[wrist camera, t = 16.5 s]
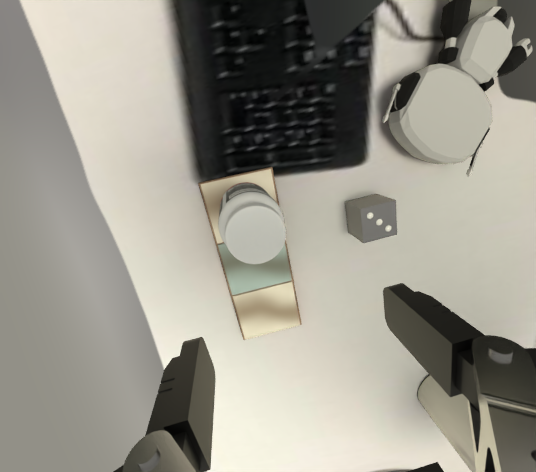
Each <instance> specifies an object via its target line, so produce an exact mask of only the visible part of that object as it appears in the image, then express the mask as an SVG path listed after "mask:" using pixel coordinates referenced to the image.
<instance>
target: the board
mask: <svg viewBox="0 0 536 472" xmlns="http://www.w3.org/2000/svg"><path fill="white" fill-rule="evenodd" d="M244 182H249V183H254V184H257V185H259V186H260V187H262V188H263V189H264V190H265V191H266V192H267V193H268V194H269V195H270V196H271V197H272V198H273V199H274V200H275V201H276V203H277V204H278V205H279V201H278V196H277V190H276V185H275V180H274V174H273V169H272V167H268V168H264V169H259V170H255V171H250V172H246V173H241V174H237V175H232V176H227V177H223V178H218V179H214V180H209V181H205V182H200V183H199V188H200V191H201V195H202V198H203V202H204V205H205V208H206V212H207V215H208V219H209V222H210V226H211V229H212V233H213V236H214V239H215V243H216V246H217V250H218V253H219V257H220V260H221V264H222V267H223V270H224V274H225V277H226V281H227V284H228V288H229V291H230V295H231V298H232V302H233V305H234V308H235V312H236V315H237V319H238V322H239V326H240V329H241V333H242V336H243V339H244V340H247V339H250V338H254V337H258V336H262V335H265V334H269V333H273V332H277V331H280V330H284V329H288V328H292V327H295V326H299V325H301V319H300V314H299V308H298V303H297V297H296V292H295V287H294V281H293V276H292V271H291V265H290V260H289V255H288V249H287V244H286V240H285V243H284V246H283V248H282V249H281V251H280V252H279V253H278V255H277V256H275V257H274V258H273V259H271V260H269V261H267V262H265V263H261V264H248V263H244V262H242V261H240V260H238V259H237V258H235V257H234V256H233V255H232V254H231V253H230V251H229V250H228V248H227V246H226V244H225V243H224V242H223V240H222V238H221V236H220V233H219V227H218V221H219V210H220V202H221V199H222V197H223V195H224V194H225V192H226V191H227V190H228V189H229V188H231V187H232V186H234V185H236V184H239V183H244ZM279 207H280V206H279Z"/></svg>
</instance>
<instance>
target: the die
mask: <svg viewBox="0 0 536 472" xmlns="http://www.w3.org/2000/svg"><path fill="white" fill-rule="evenodd" d="M345 207H346V216H347V225H348V232H349V233H350V234H351V235H353V236H354V237H356V238H357V239H358V240H360V241H361V242H363V243H366V242H370V241H374V240H378V239H381V238H385V237H389V236H393V235H397V221H396V200H394V199H391V198H387V197H384V196H381V195H378V194H374V195H370V196H366V197H362V198H358V199H354V200H350V201H346V202H345Z"/></svg>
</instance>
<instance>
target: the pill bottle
mask: <svg viewBox="0 0 536 472" xmlns="http://www.w3.org/2000/svg"><path fill="white" fill-rule="evenodd" d="M218 227H219V233H220V236H221V238H222V240H223V242H224V243H225V244H226V246H227V248H228V250H229V251H230V253H231V254H232V255H233V256H234V257H235V258H237V259H238V260H240V261H242V262H244V263H248V264H261V263H265V262H267V261H269V260H271V259H273V258H274V257H275V256H277V255H278V253H279V252H280V251H281V249H282V248H283V246H284V243H285V240H286V228H285V224H284V216H283V213H282V210H281V208H280V207H279V205H278V204H277V203H276V201H275V200H274V199H273V198H272V197H271V196H270V195H269V194H268V193H267V192H266V191H265V190H264V189H263V188H262V187H260V186H259V185H257V184H254V183H249V182H244V183H239V184H236V185H234V186H232V187H231V188H229V189H228V190H227V191H226V192H225V194H224V195H223V197H222V199H221V202H220V210H219V221H218Z"/></svg>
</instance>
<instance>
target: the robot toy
mask: <svg viewBox="0 0 536 472" xmlns="http://www.w3.org/2000/svg"><path fill="white" fill-rule="evenodd" d="M470 5H471V0H450V2H449V3H448V4H447V5H446V6H445V7H444V8H443V13H442V20H441V26H440V29H441V31H442V34H443V36H444V38H445V39H446V44H445V49H444V50H442V51H441V52H440V53H439V59H438V64H433V65H429V66H427V67H424V68H422V69H420V70H418V71H416V72H414V73H412V74H410V75H408V76H406V77H404V78H403V79H402V80H401V81H400V82H399V83H397V84H396V85H394V87H393V90H392V92H393V94H392V97H391V100H390V102H389V105H388V108H387V111H386V113H385V115H384V117H383V120H382V121H383V124H384V123H385V122H386V121H387V119H388V117H389V127H390V130H391V133H392V135H393V136H394V138H395V139H396V140H397V142H398V143H399V144H400V145H401V146H402V147H403V148H404V149H405V150H406V151H407V152H409V153H410V154H411V155H412V156H413V157H416V158H418V159H421V160H424V161H426V162H430V163H435V164H456V163H460V162H463V161H465V160H466V159H467V158H469V157H470V156H473V157H472V160H471V163H470V167H469V169H468V170H467V173H466V174H467V176H468V177H469V176H470V175H471V174H472V172H473V166H474V163H475V160H476V157H477V154H478V151H479V148H481V147H482V144H483V140H484V138H485V136H486V135H487V133H488V131H489V130H490V129H489V126H490V125H491V123H492V108H491V104H490V102H489V100H488V97H487V96H486V94H485V93H484V91H486V90H487V89H489V88H490V87H491V86H492V85H493V84H494V79H495V78H496V77H500V76H503V75H506V74H508V73H510V72H512V71H513V70H515V69H516V68H517V67H518V66H519V65H521V64H522V63H523V62H524V61H525V60H526V57H527V56H529V54H530V53H531V52H532V46H531V45H530V46H528V47H527V45H528V44H529V43H530V40H529V39H523V40H521V41H519V42H518V43H517V44H516V45H515V46H514V47H512V39H511V36H512V33H513V29H514V22H513V19H512V17H510V18H508V19H506V18H507V13H506V11H505V10H504V9H502V8H501V7H492V8H491V9H489V10H487V11H485V12H484V13H482V14H480V15H478V16H477V17H475V18H473V19H471V20H470V21H469V22H468V16H469V11H470ZM467 22H468V23H467ZM466 23H467V24H466ZM389 112H390V114H389Z"/></svg>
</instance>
